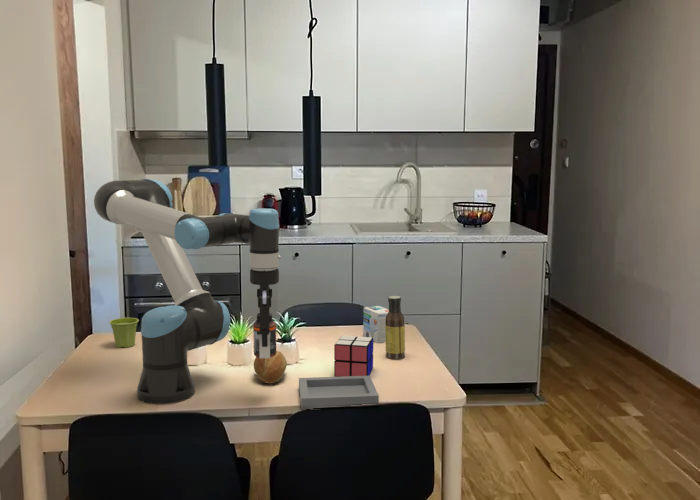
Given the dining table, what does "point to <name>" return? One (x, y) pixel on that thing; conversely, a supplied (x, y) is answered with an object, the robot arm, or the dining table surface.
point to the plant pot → (124, 331)
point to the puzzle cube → (353, 356)
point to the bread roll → (270, 367)
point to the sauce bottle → (395, 330)
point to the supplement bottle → (272, 336)
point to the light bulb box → (375, 323)
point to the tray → (336, 391)
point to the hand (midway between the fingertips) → (264, 353)
